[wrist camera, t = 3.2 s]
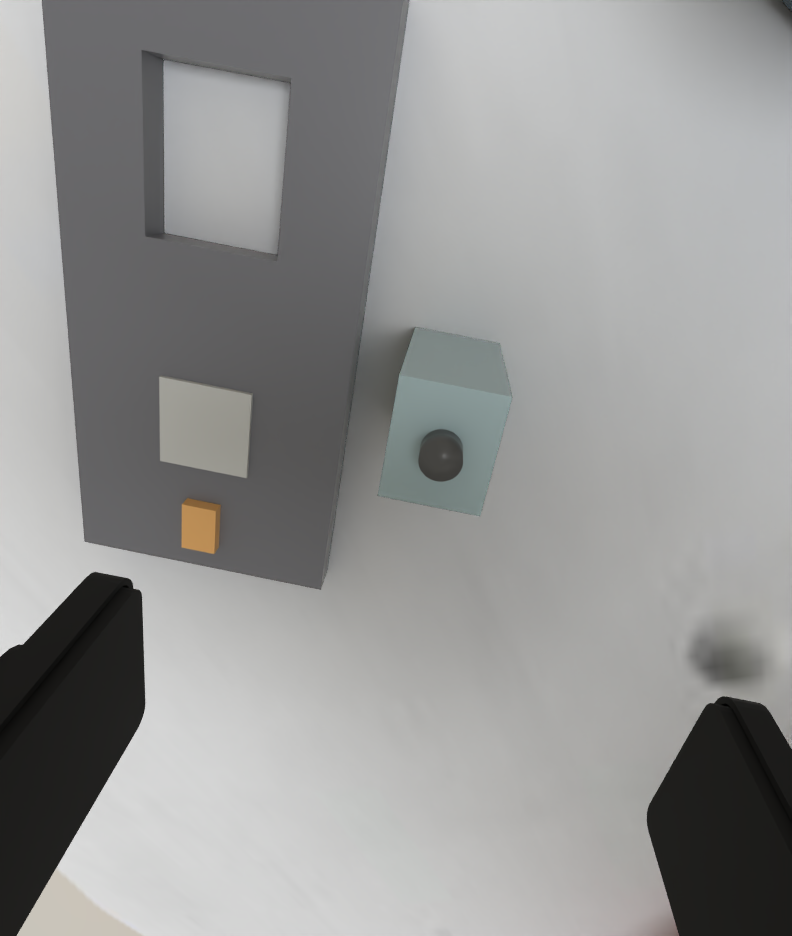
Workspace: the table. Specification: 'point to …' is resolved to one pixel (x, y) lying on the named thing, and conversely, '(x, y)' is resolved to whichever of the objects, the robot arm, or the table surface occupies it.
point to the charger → (446, 422)
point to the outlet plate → (217, 278)
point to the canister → (788, 4)
